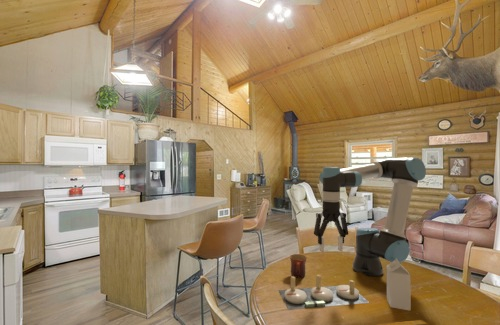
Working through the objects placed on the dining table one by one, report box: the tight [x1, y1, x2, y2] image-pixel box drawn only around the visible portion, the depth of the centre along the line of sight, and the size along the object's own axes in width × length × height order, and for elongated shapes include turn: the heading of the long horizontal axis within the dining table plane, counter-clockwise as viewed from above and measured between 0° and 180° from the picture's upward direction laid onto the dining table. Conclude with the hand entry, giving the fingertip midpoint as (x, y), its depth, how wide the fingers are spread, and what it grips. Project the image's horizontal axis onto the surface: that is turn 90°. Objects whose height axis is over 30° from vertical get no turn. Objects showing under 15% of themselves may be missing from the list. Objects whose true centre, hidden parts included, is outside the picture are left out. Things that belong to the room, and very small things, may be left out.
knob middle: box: [311, 274, 333, 302], centre depth 104 cm, size 9×9×7 cm
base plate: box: [278, 284, 370, 311], centre depth 104 cm, size 35×15×2 cm, turn 99°
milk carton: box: [386, 258, 412, 312], centre depth 99 cm, size 7×7×19 cm
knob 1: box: [285, 275, 307, 304], centre depth 102 cm, size 9×9×7 cm
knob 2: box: [336, 279, 360, 299], centre depth 106 cm, size 9×9×7 cm
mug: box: [289, 253, 307, 279], centre depth 124 cm, size 12×9×10 cm
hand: (331, 250), depth 109 cm, fingers open, 8 cm apart
